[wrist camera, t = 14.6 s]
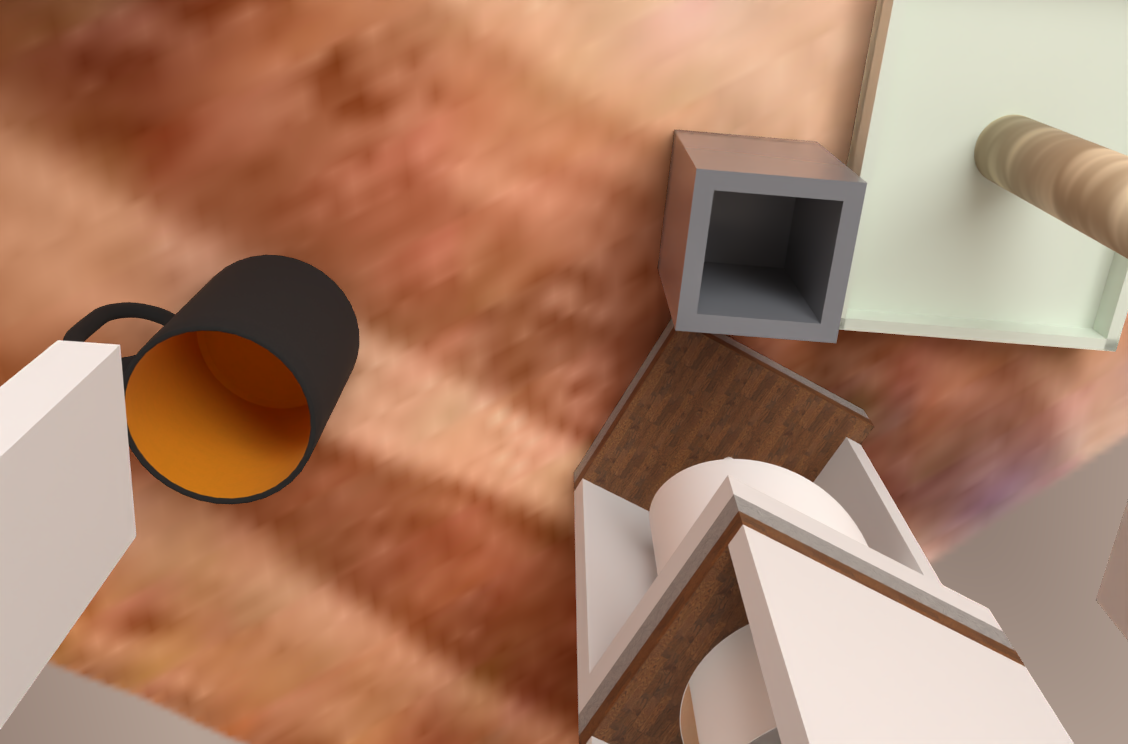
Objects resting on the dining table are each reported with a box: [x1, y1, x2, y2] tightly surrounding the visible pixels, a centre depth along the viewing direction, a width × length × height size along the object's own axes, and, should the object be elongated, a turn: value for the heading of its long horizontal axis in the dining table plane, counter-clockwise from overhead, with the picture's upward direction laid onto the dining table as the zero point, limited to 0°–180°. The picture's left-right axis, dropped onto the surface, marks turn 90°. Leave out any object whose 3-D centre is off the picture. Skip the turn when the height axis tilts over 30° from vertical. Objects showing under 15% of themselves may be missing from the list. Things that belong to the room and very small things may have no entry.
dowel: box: [974, 115, 1128, 259], centre depth 42 cm, size 3×3×17 cm
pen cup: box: [658, 130, 867, 343], centre depth 48 cm, size 7×7×9 cm
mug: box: [63, 255, 359, 504], centre depth 49 cm, size 8×12×10 cm
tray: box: [839, 0, 1128, 352], centre depth 49 cm, size 18×14×2 cm
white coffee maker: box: [574, 319, 1074, 744], centre depth 40 cm, size 11×11×35 cm
